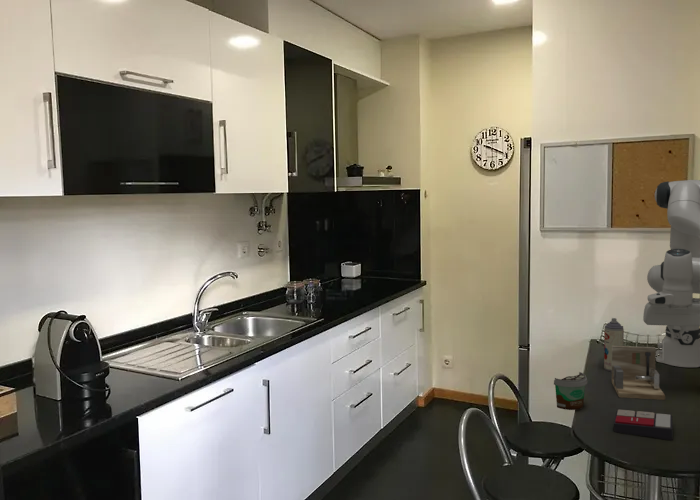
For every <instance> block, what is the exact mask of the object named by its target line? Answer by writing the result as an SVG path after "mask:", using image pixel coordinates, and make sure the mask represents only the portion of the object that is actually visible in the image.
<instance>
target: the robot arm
mask: <svg viewBox="0 0 700 500" xmlns="http://www.w3.org/2000/svg"><path fill="white" fill-rule="evenodd" d="M654 200H655V202H656V205H657V206H658V207H659V208H662V209H665V210H666V211H667V213H666V215H667V221H668V224H669V225H670V232H669V233H670V235H669V249H668V250H667V251H666V252H665V255H664V260H663V261H662V262H661V264H657V265H653V266H651V268H649V270H648V272H647V277H646V278H647V279H646V281H647V284H648V285H649V287H650V288H651V289H652V290H653V291H655V292H656V293H652V294H649V295H647V301H648V302H647V303H646V304H645V306H644V310H643V319H642V321H643V322H644V324H646V325H647V326H666V327H665V336H664V337H663V339H662V340H661V342H657V348H658V349H657V350H656V351H655V362H658V363H660V364H666V365H668V366H673V367H674V366H675V367H680V368H699V367H700V298H697V297H695V298H694V297H693V295H694V294H697V295H700V179H685V180H674V181H662V182H660V183H659V184H658V185H657V186H656V189H655V192H654ZM658 354H659V355H660V356H657V357H656V355H658Z"/></svg>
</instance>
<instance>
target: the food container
mask: <svg viewBox="0 0 700 500" xmlns="http://www.w3.org/2000/svg"><path fill="white" fill-rule="evenodd" d="M553 385H554V386H555V387H554V388H555V399H556V401H555V402H556V408H557V409H561V410H564V411H578V410H582V409H583V407H584V400H585V391H586V385H588V379H587V376H586V374H584V373H583V372H581V371H579V372H578V374H577V375H572V376H566V377H563V378H556V377H554V380H553Z"/></svg>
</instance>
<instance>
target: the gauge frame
mask: <svg viewBox="0 0 700 500" xmlns="http://www.w3.org/2000/svg"><path fill="white" fill-rule="evenodd" d="M645 352H651V356H649V376H650V375H651V369H656V347H655V346H626V345H624V346H612V372H611V383H612V386H613V388H614V390H615V392H616V395H617V396H618V398H622V399H640V400H641V399H642V400H643V399H645V400H660V401H665V400H666V395H665V393H664V391H662V389H661V388H660V387H659V389H654V388H653V386H652V385H651V383H650V382H648V381H641V380H635V376H646V364H647V356H645Z"/></svg>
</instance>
